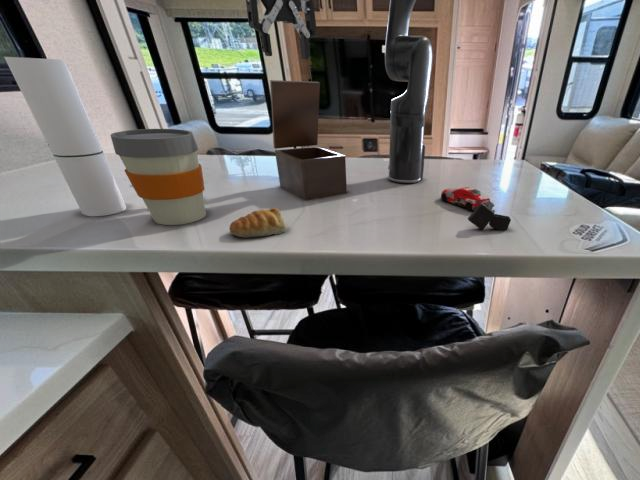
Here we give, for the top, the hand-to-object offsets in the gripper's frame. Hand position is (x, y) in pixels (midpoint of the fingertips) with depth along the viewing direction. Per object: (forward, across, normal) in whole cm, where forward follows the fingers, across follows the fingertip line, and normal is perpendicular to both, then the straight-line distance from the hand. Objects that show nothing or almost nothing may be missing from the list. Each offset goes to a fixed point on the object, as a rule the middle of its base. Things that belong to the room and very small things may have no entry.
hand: (287, 57), depth 74 cm
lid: (+11, 0, -1) cm, 11 cm away
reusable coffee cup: (+28, -31, -8) cm, 42 cm away
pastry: (+28, -21, -25) cm, 43 cm away
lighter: (+28, +16, -49) cm, 58 cm away
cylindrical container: (+28, -42, +4) cm, 50 cm away
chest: (+28, 0, -6) cm, 28 cm away
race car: (+28, +24, -36) cm, 51 cm away
